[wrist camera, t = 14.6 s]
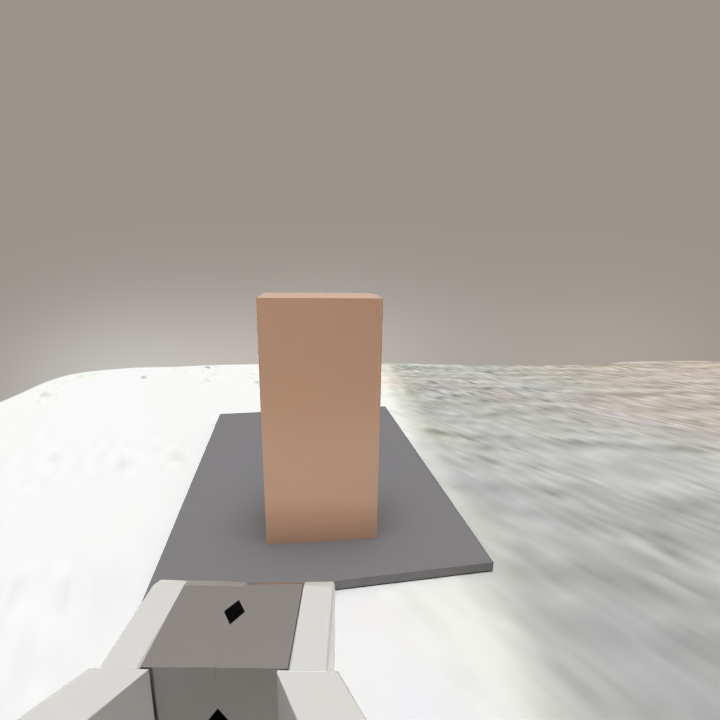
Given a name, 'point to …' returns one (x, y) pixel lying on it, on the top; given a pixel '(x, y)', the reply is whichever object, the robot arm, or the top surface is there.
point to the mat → (314, 559)
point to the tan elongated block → (320, 414)
